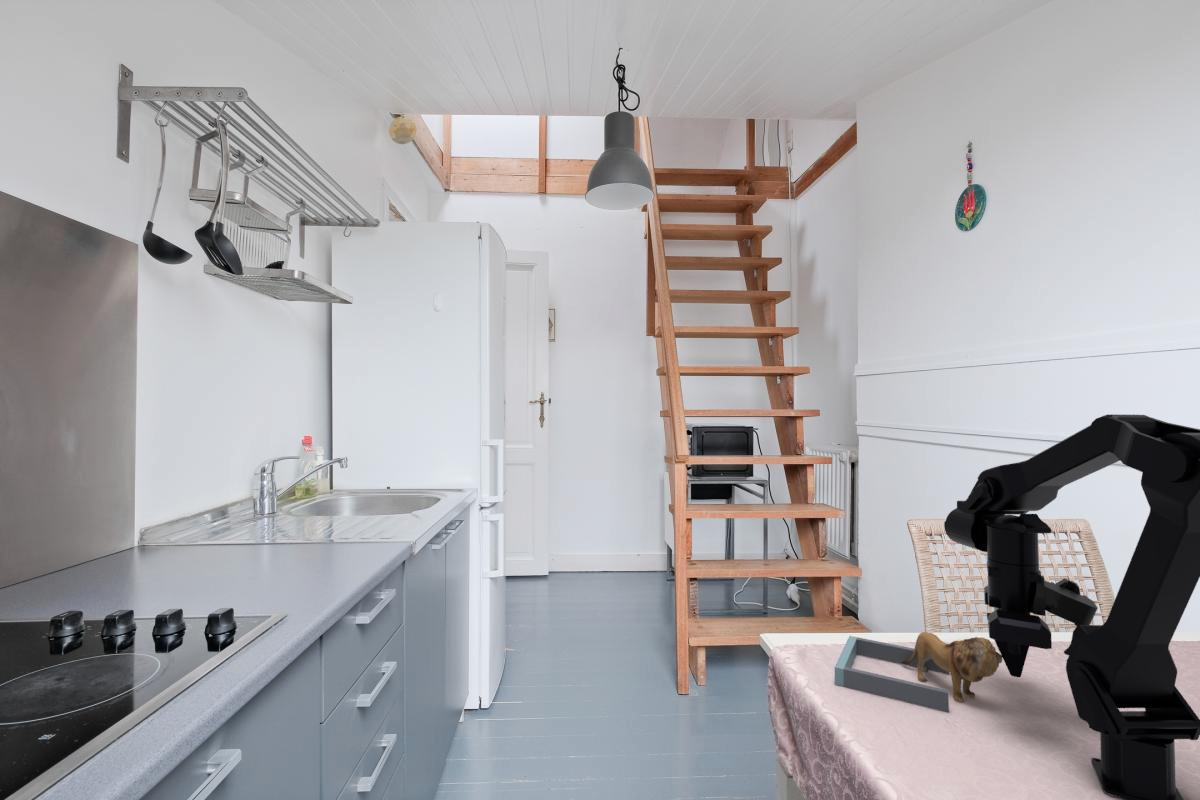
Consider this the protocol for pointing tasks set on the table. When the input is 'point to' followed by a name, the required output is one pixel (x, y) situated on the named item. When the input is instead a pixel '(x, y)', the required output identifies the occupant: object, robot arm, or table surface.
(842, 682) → the chassis bay
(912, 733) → the table surface
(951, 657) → the lion figurine
